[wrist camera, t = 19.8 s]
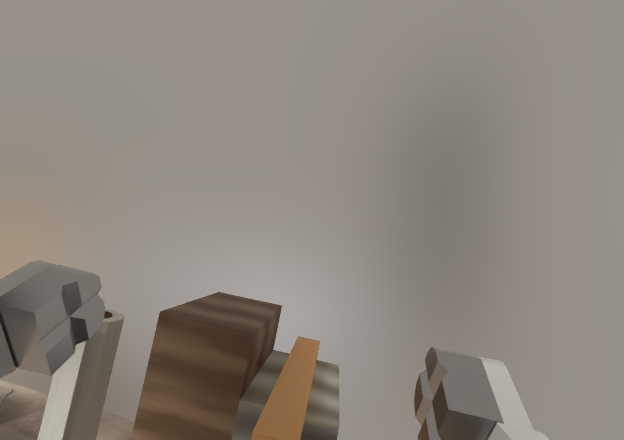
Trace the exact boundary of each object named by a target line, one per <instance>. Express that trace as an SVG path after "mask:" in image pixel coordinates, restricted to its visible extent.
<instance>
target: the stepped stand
mask: <svg viewBox="0 0 624 440" xmlns="http://www.w3.org/2000/svg"><path fill="white" fill-rule="evenodd" d="M281 308H282V306H281V305H276V304H272V303H267V302H262V301H258V300H253V299H248V298H244V297H239V296H234V295H229V294H225V293H221V292H218V293H215V294H212V295H209V296H206V297H203V298H200V299H197V300H194V301H191V302H188V303H185V304H182V305H179V306H176V307H173V308H170V309H167V310H164V311H161V312H160V314H159V318H158V323H157V327H156V332H155V336H154V341H153V345H152V349H151V354H150V358H149V363H148V367H147V371H146V376H145V380H144V384H143V389H142V394H141V397H140V402H139V407H138V411H137V415H136V419H135V424H134V428H133V433H132V437H131V440H251V437H252V432H253V430H254V428H255V426H256V424H257V422H258V420H259V417H260V415H261V413H262V411H263V409H264V407H265V405H266V403H267V401H268V399H269V397H270V394H271V392H272V390H273V388H274V386H275V384H276V382H277V380H278V378H279V376H280V374H281V371H282V369H283V367H284V365H285V363H286V361H287V359H288V357H289V355H290V354H288V353H284V352H279V351H275V350H273V348H274V343H275V337H276V333H277V328H278V323H279V318H280V313H281ZM338 429H339V365H336V364H332V363H327V362H323V361H318V360H316V365H315V370H314V375H313V380H312V385H311V390H310V395H309V400H308V405H307V410H306V415H305V420H304V424H303V429H302V434H301V439H300V440H337V434H338Z"/></svg>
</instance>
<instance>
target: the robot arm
mask: <svg viewBox="0 0 624 440" xmlns="http://www.w3.org/2000/svg"><path fill="white" fill-rule="evenodd" d="M100 289H101V282H100V278H99V276H97V275H95V274H93V273H90V272H85V271H81V270H77V269H73V268H69V267H65V266H61V265H55V264H51V263H47V262H43V261H34V262H30V263H28V264H26V265H25V266H23V267H21V268H19V269H18V270H16V271H14V272H13V273H11V274H9V275H7V276H5V277H4V278H2V279H0V378H2V377H4V376H5V375H7V374H10V373H12V372H14V371H15V370H16V368H18V369H23V370H28V371H32V372H37V373H41V374H46V375H53V374H54V373H55V372H56V371H57V370H58V369H59V368H60V367H61V366H62V365H63V364H64V363H65V362H66V361H67V360H68V359H69V358H70V357H71V356H72V355H73V354H74V353H75V347H76V345H77V344H79V343H82V342H84V341H86V340H89V339H90V338H91V337H92V336H93V335H94V334H95V333H96V332H97V331H98V329H99V327H100V325H101V323H102V321H103V320H104V314H105V306H104V302H103V300H102V299H101V298H100V297H99V296H98V294H97V293H98V292H99V291H100ZM425 362H426V368H427V369H426V370H425V371H423V372H421V373H420V374H419V377H418V380H417V384H416V390H415V397H414V399H415V400H414V404H415V415H416V418H417V420H418V421H419V422H420V424H421V425H422V427H421V430H420V433H419V435H418V440H549V439H548V438H547V437H546V436H545V435H544V434H543V433H540V432H537V431H534V429H533V427H532V424H531V422H530V420H529V418H528V415H527V413H526V411H525V409H524V406H523V404H522V402H521V400H520V397H519V395H518V393H517V391H516V388H515V386H514V384H513V382H512V379H511V377H510V375H509V373H508V370H507V368H506V366H505V365H504V364H503V363H502V362H501V361H498V360H493V359H488V358H483V357H475V356H471V355H467V354H462V353H457V352H452V351H448V350H443V349H438V348H434V347H431V348H430V350H429V351H428V353H427V356H426V358H425Z"/></svg>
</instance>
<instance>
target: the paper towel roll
mask: <svg viewBox="0 0 624 440" xmlns="http://www.w3.org/2000/svg"><path fill="white" fill-rule="evenodd" d="M123 321H124V315H122V314H121V313H118V312H116V311H111V310H105V314H104V320H103V321H102V323H101V325H100V327H99V329H98V331H97V332H96V333H95V334H94V335H93V336H92V337H91V338H90V339H89V340H86V341H84V342H82V343H79V344H77V345H76V347H75V353H74V354H73V355H72V356H71V357H70V358H69V359H68V360H67V361H66V362H65V363H64V364H63V365H62V366H61V367H60V368H59V369H58V370H57V371H56V372H55V373H54V375H53V379H52V383H51V387H50V391H49V395H48V399H47V403H46V407H45V411H44V415H43V419H42V423H41V427H40V431H39V435H38V439H37V440H96V436H97V431H98V427H99V423H100V419H101V414H102V410H103V405H104V401H105V397H106V393H107V389H108V384H109V380H110V376H111V372H112V368H113V363H114V359H115V355H116V351H117V346H118V342H119V338H120V334H121V329H122V324H123Z"/></svg>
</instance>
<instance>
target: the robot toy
mask: <svg viewBox="0 0 624 440" xmlns="http://www.w3.org/2000/svg"><path fill="white" fill-rule="evenodd" d="M13 391H14V389H11V390H10V391H9V392H8V393H7V394H6V395H5V396H3V397H2V398H1V399H0V402H1V401H2V400H3V399H4V398H6V397H7V396H8V395H9V394H11V393H12V392H13Z"/></svg>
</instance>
